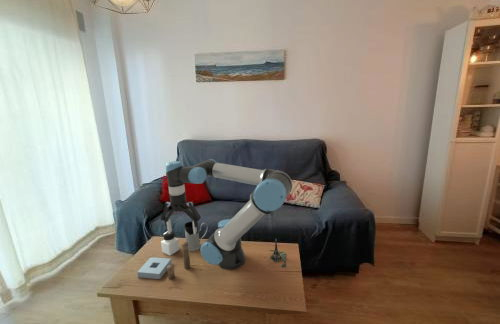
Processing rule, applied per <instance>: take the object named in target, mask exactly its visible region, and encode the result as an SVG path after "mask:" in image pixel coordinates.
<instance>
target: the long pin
mask: <svg viewBox="0 0 500 324" xmlns="http://www.w3.org/2000/svg"><path fill="white" fill-rule="evenodd" d="M181 250H182V257H183V265H184V269H185V270H190V268H191V260H190V253H189V252H190V251H189V249H188V243H187V242H186V241H184V242H182V243H181Z"/></svg>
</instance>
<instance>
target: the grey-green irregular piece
mask: <svg viewBox="0 0 500 324" xmlns="http://www.w3.org/2000/svg"><path fill="white" fill-rule="evenodd" d="M274 241H275V243H274V244H275V245H274V249H269V252H273V253H272V255H271V256H270V257H269V259H270V260H271V261H273V262H274V263H278V262H280V261H282V262H283V264H281V266H280V267H281V268H283V269H286V268H287V256H288V255H287V253H286V252H284V251H279V250H278V243H277V242H278V241H277V238H275V240H274Z"/></svg>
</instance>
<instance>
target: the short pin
mask: <svg viewBox="0 0 500 324" xmlns="http://www.w3.org/2000/svg"><path fill="white" fill-rule="evenodd" d="M174 269H175V268H174V265H173V264H171V265H168V266H167V271H166V272H167V277H168V278H167V279H168V280H174V278H175V270H174Z"/></svg>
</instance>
